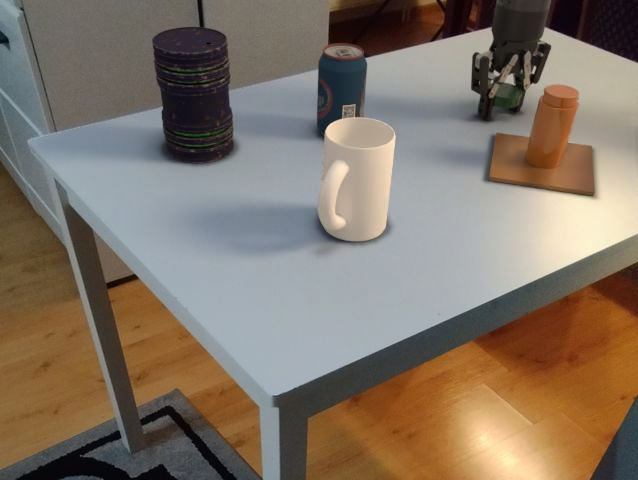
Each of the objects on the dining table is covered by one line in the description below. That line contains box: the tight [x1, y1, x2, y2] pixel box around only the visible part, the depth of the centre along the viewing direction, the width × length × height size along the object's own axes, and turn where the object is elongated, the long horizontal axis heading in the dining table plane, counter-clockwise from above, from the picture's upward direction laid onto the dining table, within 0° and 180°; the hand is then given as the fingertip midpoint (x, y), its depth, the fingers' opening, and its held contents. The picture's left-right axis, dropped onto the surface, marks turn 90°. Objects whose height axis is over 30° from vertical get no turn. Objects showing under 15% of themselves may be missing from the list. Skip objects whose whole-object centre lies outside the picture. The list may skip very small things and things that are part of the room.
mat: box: [487, 132, 596, 197], centre depth 97 cm, size 14×14×1 cm
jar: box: [525, 84, 580, 168], centre depth 94 cm, size 5×5×10 cm
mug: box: [317, 117, 396, 242], centre depth 79 cm, size 8×12×12 cm
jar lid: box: [489, 82, 522, 109], centre depth 107 cm, size 6×6×2 cm
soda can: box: [316, 42, 368, 137], centre depth 99 cm, size 7×7×12 cm
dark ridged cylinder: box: [151, 26, 235, 164], centre depth 93 cm, size 10×10×15 cm
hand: (499, 114), depth 109 cm, fingers closed on jar lid, 5 cm apart
